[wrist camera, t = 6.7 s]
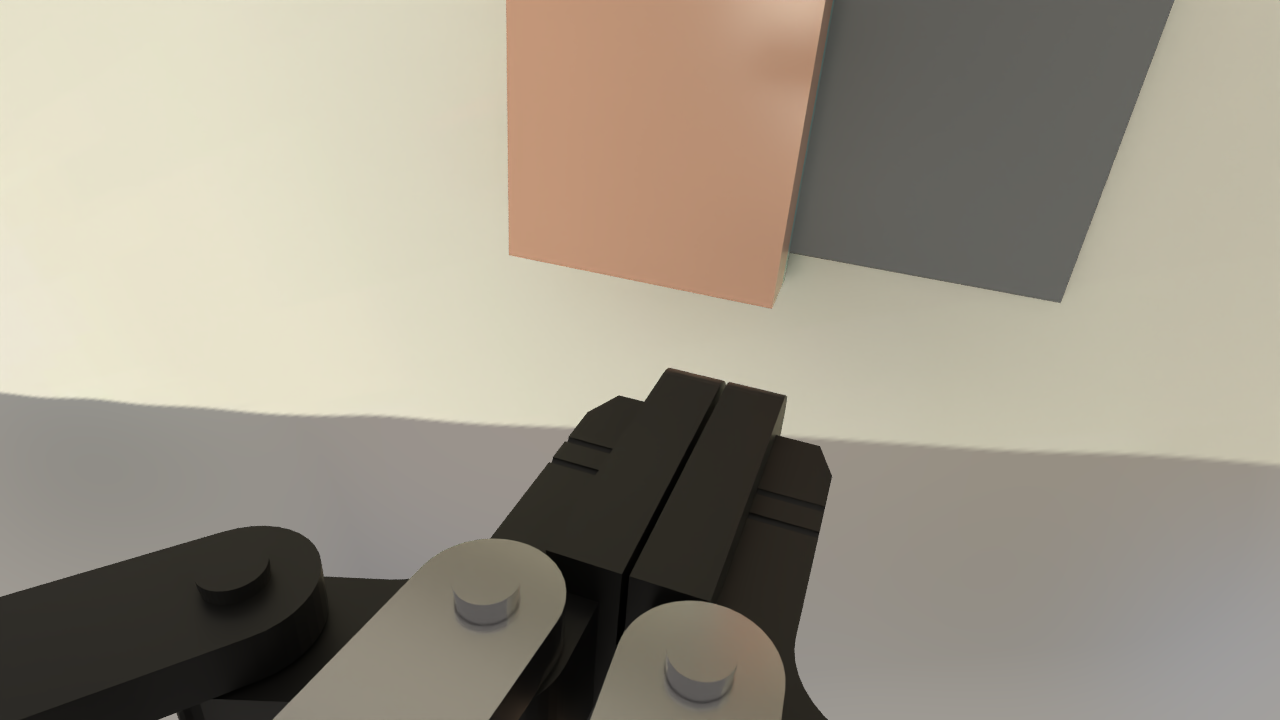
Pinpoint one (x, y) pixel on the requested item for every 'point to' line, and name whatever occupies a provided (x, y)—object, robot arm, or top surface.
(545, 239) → the tile
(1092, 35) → the mat
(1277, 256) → the top surface
